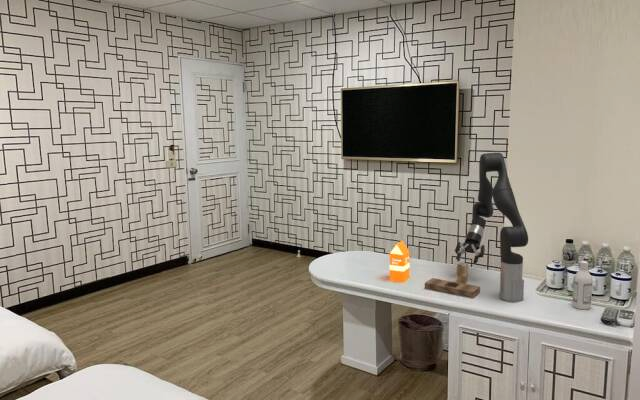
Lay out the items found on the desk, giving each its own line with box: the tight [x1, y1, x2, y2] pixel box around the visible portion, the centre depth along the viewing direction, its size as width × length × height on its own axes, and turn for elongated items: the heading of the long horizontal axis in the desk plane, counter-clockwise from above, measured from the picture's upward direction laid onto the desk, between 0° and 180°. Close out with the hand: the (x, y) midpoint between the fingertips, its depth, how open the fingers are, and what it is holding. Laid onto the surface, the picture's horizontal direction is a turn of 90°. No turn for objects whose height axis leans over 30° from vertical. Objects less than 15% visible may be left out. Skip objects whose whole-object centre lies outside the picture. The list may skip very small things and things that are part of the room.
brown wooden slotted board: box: [424, 277, 481, 299], centre depth 226 cm, size 24×9×3 cm, turn 52°
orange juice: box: [389, 240, 411, 284], centre depth 244 cm, size 8×9×20 cm
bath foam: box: [571, 260, 593, 311], centre depth 200 cm, size 7×7×20 cm
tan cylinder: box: [456, 262, 469, 284], centre depth 236 cm, size 4×4×10 cm
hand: (466, 261), depth 239 cm, fingers open, 8 cm apart
